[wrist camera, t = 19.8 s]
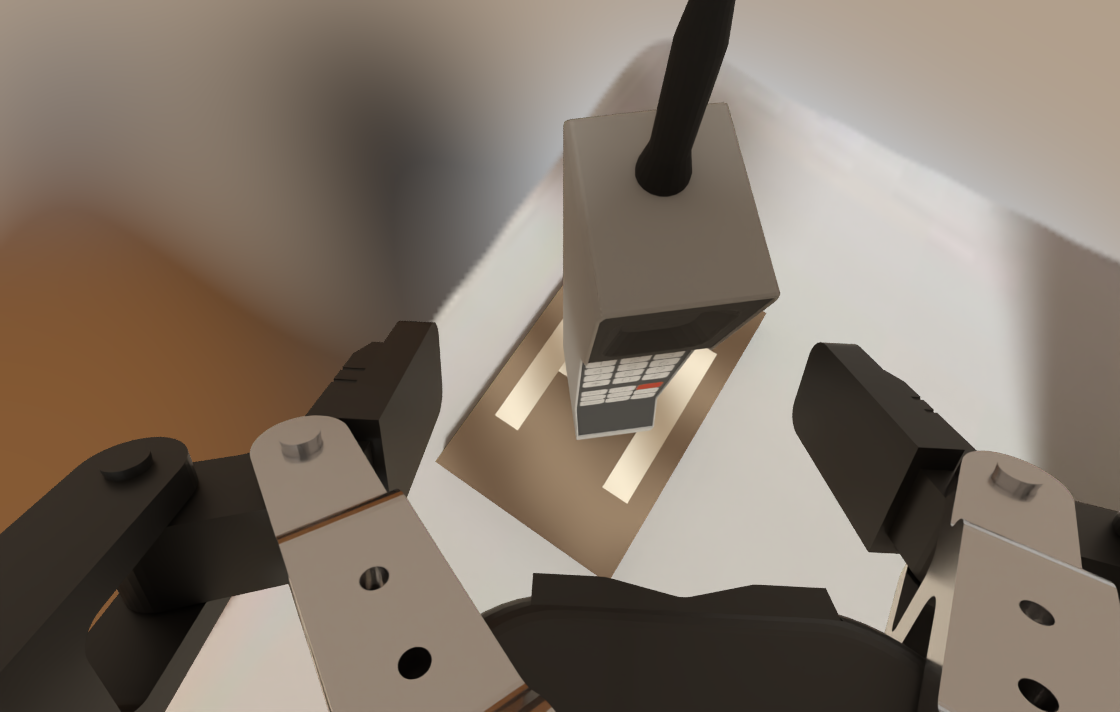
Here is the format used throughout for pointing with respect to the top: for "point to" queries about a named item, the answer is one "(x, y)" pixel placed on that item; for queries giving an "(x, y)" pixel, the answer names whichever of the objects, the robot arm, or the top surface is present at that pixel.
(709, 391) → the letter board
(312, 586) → the robot arm
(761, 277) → the vintage mobile phone
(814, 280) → the top surface
